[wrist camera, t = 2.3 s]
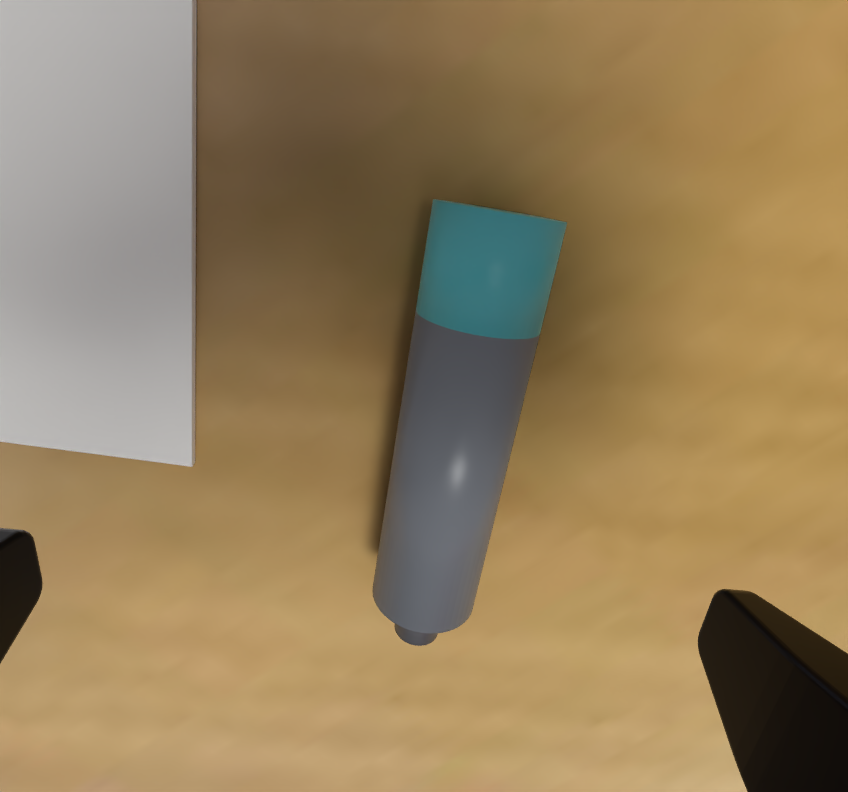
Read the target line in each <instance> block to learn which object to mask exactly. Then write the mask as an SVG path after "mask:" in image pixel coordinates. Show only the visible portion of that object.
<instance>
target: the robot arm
mask: <svg viewBox="0 0 848 792" xmlns="http://www.w3.org/2000/svg"><path fill="white" fill-rule="evenodd" d="M41 590H42V576H41V571H40V566H39V561H38V556H37V552H36V547H35V542H34V539H33V537H32V535H31V534H30V533H29V532H27V531H24V530H16V529H4V528H0V663H1V661H2V660H3V658H4V656H5V655H6V653H7V651H8V650H9V648H10V646H11V645H12V643H13V642H14V640H15V638H16V637H17V635H18V633H19V632H20V630H21V628H22V627H23V625H24V623H25V622H26V620H27V618H28V617H29V615H30V613H31V612H32V610H33V608H34V607H35V605H36V603H37V601H38V599H39V597H40V594H41ZM698 649H699V654H700V657H701V660H702V663H703V666H704V669H705V672H706V675H707V678H708V681H709V684H710V687H711V690H712V693H713V696H714V699H715V702H716V705H717V708H718V711H719V714H720V717H721V720H722V723H723V726H724V729H725V732H726V735H727V738H728V741H729V743H730V746H731V749H732V752H733V755H734V758H735V761H736V763H737V766H738V769H739V772H740V774H741V777H742V779H743V782H744V784H745V786H746V789H747V791H748V792H848V654H847V653H846V652H844V651H843V650H841V649H840V648H838V647H837V646H835V645H833V644H832V643H830V642H829V641H827V640H826V639H824V638H823V637H821V636H820V635H818V634H817V633H815V632H813V631H812V630H810V629H809V628H807V627H806V626H804V625H803V624H801V623H800V622H798V621H796V620H795V619H793V618H792V617H790V616H789V615H787V614H786V613H784V612H783V611H781V610H779V609H778V608H776V607H775V606H773V605H772V604H770V603H769V602H767V601H766V600H764V599H762V598H761V597H759V596H758V595H756V594H754V593H752V592H749V591H743V590H731V589H722V590H719V591H717V592H716V593H715V594H714V596H713V598H712V601H711V603H710V606H709V609H708V611H707V614H706V616H705V619H704V622H703V624H702V627H701V629H700V632H699V636H698Z"/></svg>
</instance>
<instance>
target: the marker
mask: <svg viewBox="0 0 848 792" xmlns="http://www.w3.org/2000/svg"><path fill="white" fill-rule="evenodd" d="M566 226H567V222H564V221H559V220H555V219H550V218H545V217H540V216H534V215H529V214H523V213H518V212H512V211H507V210H501V209H495V208H489V207H483V206H477V205H471V204H465V203H458V202H452V201H445V200H436V199H433V203H432V210H431V216H430V222H429V229H428V235H427V242H426V248H425V255H424V261H423V267H422V274H421V280H420V287H419V293H418V300H417V306H416V312H415V319H414V325H413V332H412V338H411V345H410V351H409V357H408V364H407V370H406V377H405V383H404V390H403V396H402V402H401V409H400V415H399V422H398V428H397V435H396V441H395V447H394V454H393V460H392V467H391V473H390V480H389V486H388V493H387V499H386V505H385V512H384V518H383V525H382V531H381V538H380V544H379V550H378V557H377V563H376V570H375V576H374V583H373V597H374V600H375V603H376V605H377V606H378V608H379V609H380V611H381V612H382V613H383V614H384V615H385V616H386V617H387V618H388V619H389V620H391V621H392V622H394V623H395V631H396V633H397V635H398V636H399V637H400V638H401V639H402V640H403V641H405V642H407V643H409V644H412V645H418V646H421V645H427V644H429V643H431V642H432V641H434V640H435V638H436V637H437V634H438V633H443V632H447V631H450V630H453V629H455V628H457V627H459V626H460V625H462V624H463V623H464V622H465V621H466V620H467V619H468V618H469V616H470V615H471V612H472V609H473V605H474V601H475V597H476V593H477V589H478V585H479V581H480V577H481V573H482V568H483V564H484V560H485V556H486V552H487V548H488V544H489V540H490V536H491V532H492V528H493V524H494V520H495V515H496V511H497V507H498V503H499V499H500V495H501V491H502V487H503V483H504V479H505V475H506V471H507V467H508V462H509V458H510V454H511V450H512V446H513V442H514V438H515V434H516V430H517V426H518V422H519V418H520V414H521V410H522V405H523V401H524V397H525V393H526V389H527V385H528V381H529V377H530V373H531V369H532V365H533V361H534V357H535V352H536V348H537V344H538V340H539V336H540V332H541V328H542V324H543V320H544V316H545V312H546V308H547V304H548V299H549V295H550V291H551V287H552V283H553V279H554V275H555V271H556V267H557V263H558V259H559V255H560V251H561V246H562V242H563V238H564V234H565V230H566Z"/></svg>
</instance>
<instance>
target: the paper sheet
mask: <svg viewBox="0 0 848 792" xmlns="http://www.w3.org/2000/svg"><path fill="white" fill-rule="evenodd" d="M196 48H197V0H0V442H7V443H15V444H22V445H30V446H38V447H45V448H53V449H60V450H68V451H76V452H83V453H91V454H99V455H106V456H114V457H122V458H129V459H137V460H145V461H152V462H160V463H168V464H175V465H183V466H191V467H192V466H193V465H194V463H195V354H196Z"/></svg>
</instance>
